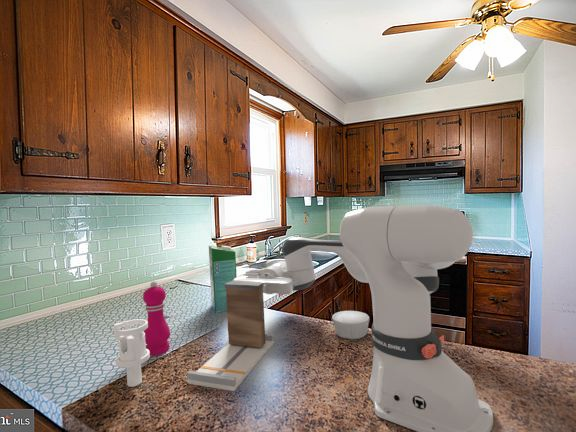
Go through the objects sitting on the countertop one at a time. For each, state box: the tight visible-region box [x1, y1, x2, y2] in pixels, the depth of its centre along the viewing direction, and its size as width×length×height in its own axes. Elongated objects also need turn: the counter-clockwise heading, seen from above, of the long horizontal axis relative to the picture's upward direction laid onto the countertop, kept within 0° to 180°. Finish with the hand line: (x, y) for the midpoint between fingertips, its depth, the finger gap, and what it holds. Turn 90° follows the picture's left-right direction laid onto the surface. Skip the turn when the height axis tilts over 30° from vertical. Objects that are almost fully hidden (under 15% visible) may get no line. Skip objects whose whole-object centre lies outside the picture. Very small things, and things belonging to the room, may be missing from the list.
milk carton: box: [208, 245, 238, 313], centre depth 124 cm, size 9×9×25 cm
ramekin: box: [331, 310, 370, 340], centre depth 95 cm, size 11×11×5 cm
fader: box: [225, 281, 266, 348], centre depth 87 cm, size 4×10×17 cm, turn 72°
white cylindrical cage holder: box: [113, 318, 151, 388], centre depth 72 cm, size 7×7×15 cm
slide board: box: [186, 333, 274, 392], centre depth 81 cm, size 24×12×2 cm, turn 162°
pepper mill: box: [142, 281, 171, 356], centre depth 88 cm, size 7×7×20 cm
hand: (252, 291), depth 93 cm, fingers closed
